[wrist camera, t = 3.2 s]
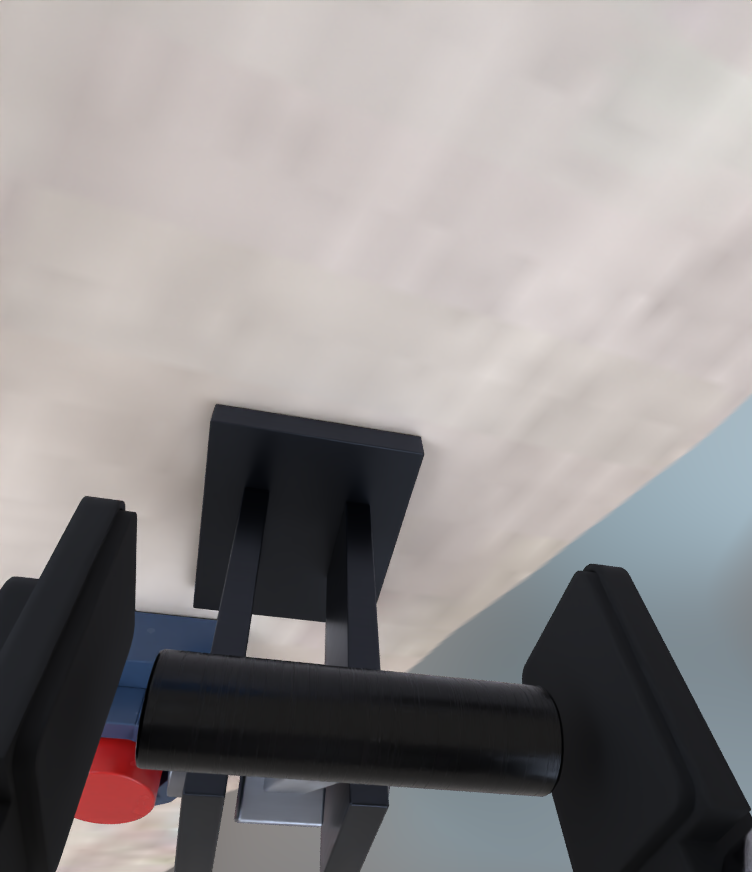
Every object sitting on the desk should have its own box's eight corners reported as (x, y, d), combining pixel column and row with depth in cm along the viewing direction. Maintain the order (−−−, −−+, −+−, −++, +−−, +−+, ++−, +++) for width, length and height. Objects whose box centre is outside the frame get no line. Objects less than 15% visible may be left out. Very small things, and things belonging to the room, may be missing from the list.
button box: (39, 600, 29) (-6, 686, 25) (237, 621, 30) (223, 706, 27) (52, 736, 35) (17, 823, 31) (218, 749, 36) (204, 833, 32)
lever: (165, 599, 8) (116, 812, 7) (556, 643, 9) (576, 839, 8) (192, 726, 19) (174, 818, 18) (368, 741, 20) (364, 829, 19)
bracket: (215, 403, 24) (114, 718, 13) (421, 436, 25) (481, 748, 14) (197, 587, 29) (115, 919, 18) (368, 607, 30) (384, 928, 20)
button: (62, 729, 28) (47, 769, 26) (166, 737, 28) (156, 776, 27) (66, 783, 30) (53, 822, 29) (162, 789, 31) (153, 827, 29)
